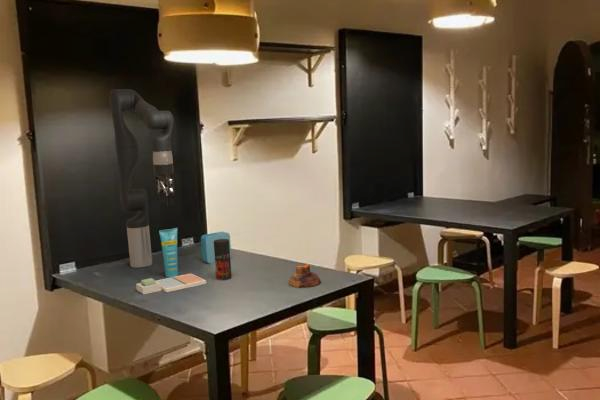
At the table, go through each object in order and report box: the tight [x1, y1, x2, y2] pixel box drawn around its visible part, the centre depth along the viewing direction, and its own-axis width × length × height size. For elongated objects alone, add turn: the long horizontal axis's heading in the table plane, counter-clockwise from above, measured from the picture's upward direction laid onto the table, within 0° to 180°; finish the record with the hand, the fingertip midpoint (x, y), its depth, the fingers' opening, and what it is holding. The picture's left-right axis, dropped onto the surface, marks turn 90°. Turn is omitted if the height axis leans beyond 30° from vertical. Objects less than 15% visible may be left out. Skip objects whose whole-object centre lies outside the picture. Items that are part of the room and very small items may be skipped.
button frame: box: [135, 280, 163, 295], centre depth 235 cm, size 7×7×2 cm
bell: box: [288, 263, 321, 289], centre depth 233 cm, size 12×12×7 cm
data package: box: [200, 231, 232, 264], centre depth 275 cm, size 12×4×12 cm, turn 127°
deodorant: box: [214, 239, 233, 281], centre depth 245 cm, size 6×6×15 cm
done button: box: [140, 277, 156, 286], centre depth 235 cm, size 4×4×2 cm
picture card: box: [156, 273, 207, 293], centre depth 242 cm, size 14×16×1 cm
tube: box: [158, 227, 179, 278], centre depth 252 cm, size 7×5×19 cm, turn 123°
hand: (166, 203), depth 249 cm, fingers open, 8 cm apart
